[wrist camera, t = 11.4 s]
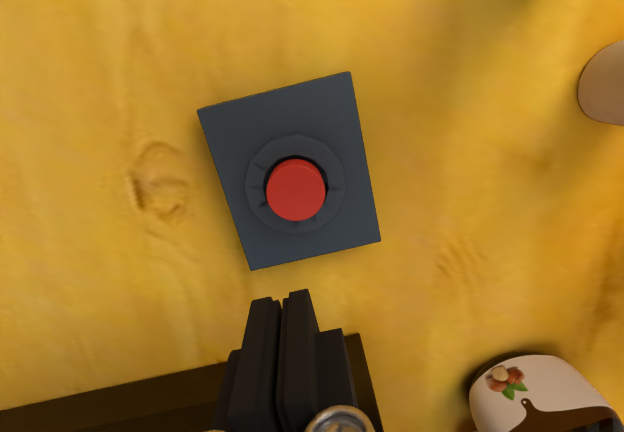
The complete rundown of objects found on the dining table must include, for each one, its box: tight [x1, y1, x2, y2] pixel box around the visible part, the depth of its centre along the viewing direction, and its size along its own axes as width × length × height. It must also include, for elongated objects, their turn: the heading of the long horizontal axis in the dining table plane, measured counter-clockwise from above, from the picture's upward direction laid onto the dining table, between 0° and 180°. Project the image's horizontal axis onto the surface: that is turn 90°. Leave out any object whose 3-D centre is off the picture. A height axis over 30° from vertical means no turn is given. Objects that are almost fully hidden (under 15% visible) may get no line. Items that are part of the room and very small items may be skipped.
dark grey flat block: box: [197, 72, 381, 271], centre depth 25 cm, size 12×10×4 cm
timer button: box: [266, 159, 325, 221], centre depth 23 cm, size 4×4×2 cm
